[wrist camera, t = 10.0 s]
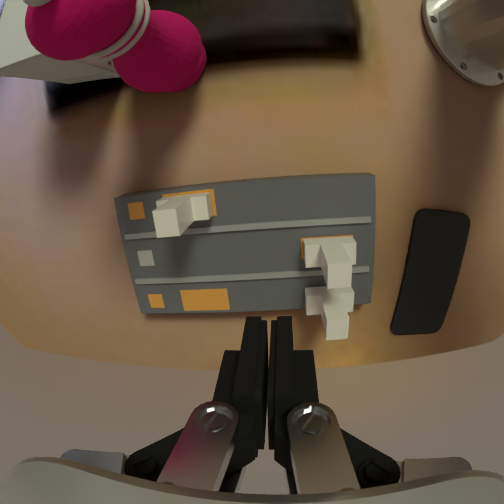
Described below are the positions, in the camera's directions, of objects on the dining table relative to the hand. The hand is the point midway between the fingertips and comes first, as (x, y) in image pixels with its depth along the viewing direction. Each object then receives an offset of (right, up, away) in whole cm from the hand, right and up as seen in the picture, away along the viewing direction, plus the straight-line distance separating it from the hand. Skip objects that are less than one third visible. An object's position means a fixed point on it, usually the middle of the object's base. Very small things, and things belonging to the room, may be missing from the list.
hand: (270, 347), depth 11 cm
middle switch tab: (+6, +4, +16) cm, 17 cm away
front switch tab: (-6, +8, +15) cm, 18 cm away
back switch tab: (+6, -1, +17) cm, 19 cm away
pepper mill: (-8, +21, +13) cm, 26 cm away
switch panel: (-1, +4, +19) cm, 19 cm away
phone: (+19, +1, +19) cm, 27 cm away
